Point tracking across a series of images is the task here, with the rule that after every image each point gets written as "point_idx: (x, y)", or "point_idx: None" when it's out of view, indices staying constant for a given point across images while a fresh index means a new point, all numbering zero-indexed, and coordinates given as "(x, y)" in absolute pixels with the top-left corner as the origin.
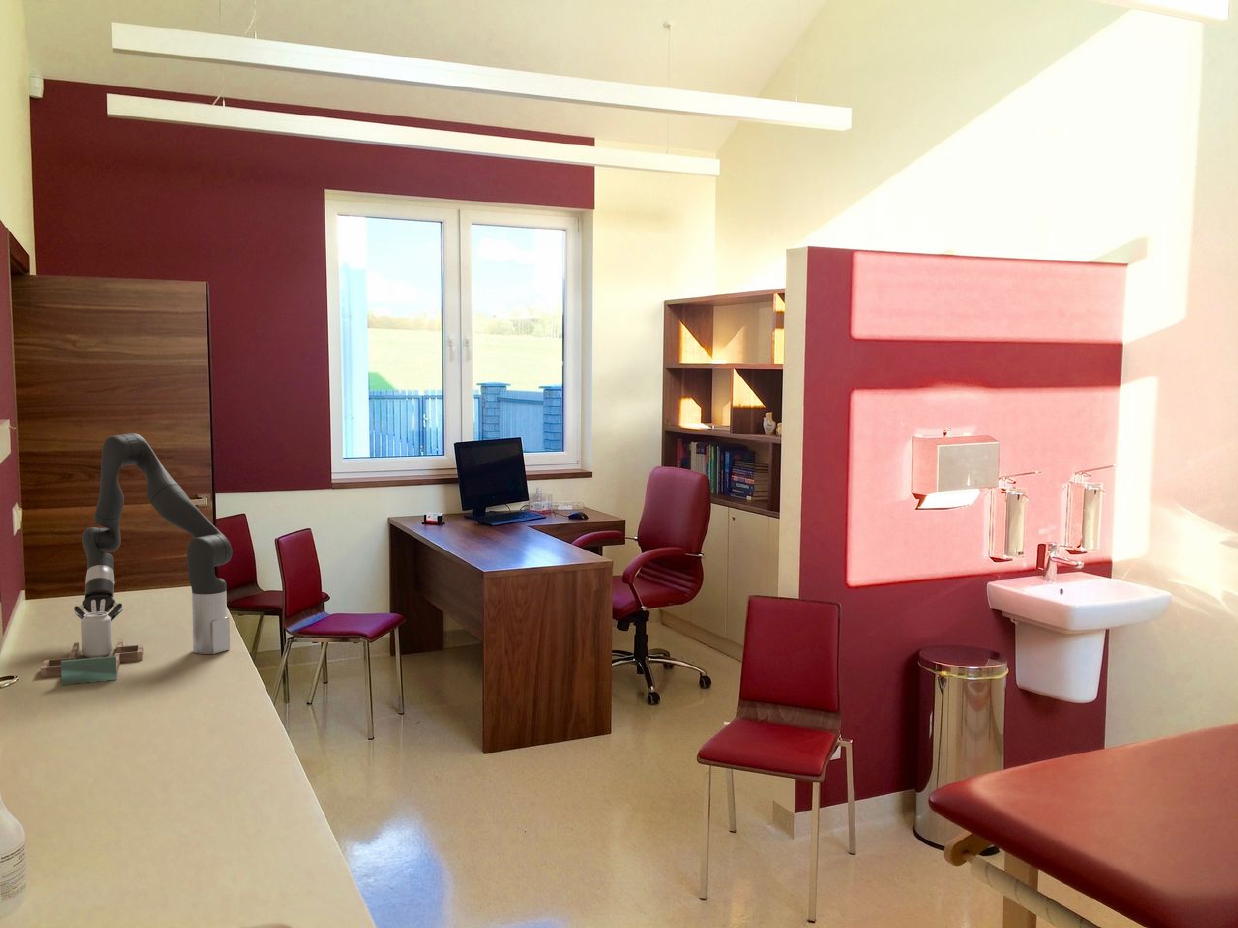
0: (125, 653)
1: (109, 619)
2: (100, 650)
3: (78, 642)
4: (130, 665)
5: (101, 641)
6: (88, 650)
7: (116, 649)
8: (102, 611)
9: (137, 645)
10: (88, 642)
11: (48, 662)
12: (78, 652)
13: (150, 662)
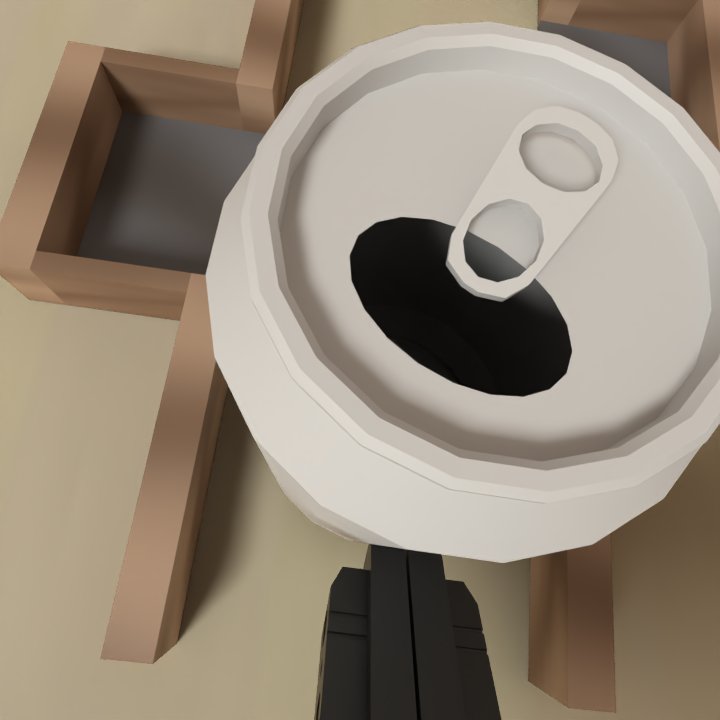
0: (196, 67)
1: (252, 166)
2: (366, 289)
3: (573, 692)
4: (196, 27)
5: (364, 249)
6: (464, 311)
7: None
8: (364, 425)
9: (44, 253)
10: (485, 275)
11: (711, 92)
12: (532, 569)
13: (62, 29)
